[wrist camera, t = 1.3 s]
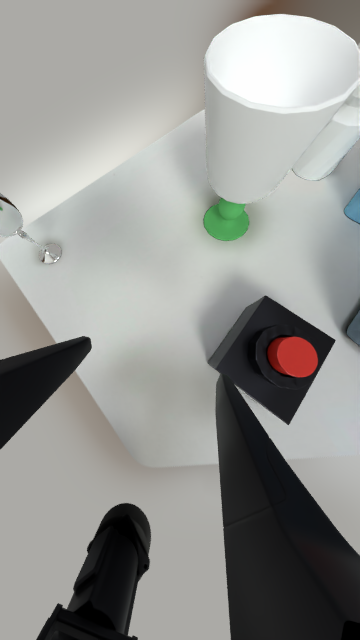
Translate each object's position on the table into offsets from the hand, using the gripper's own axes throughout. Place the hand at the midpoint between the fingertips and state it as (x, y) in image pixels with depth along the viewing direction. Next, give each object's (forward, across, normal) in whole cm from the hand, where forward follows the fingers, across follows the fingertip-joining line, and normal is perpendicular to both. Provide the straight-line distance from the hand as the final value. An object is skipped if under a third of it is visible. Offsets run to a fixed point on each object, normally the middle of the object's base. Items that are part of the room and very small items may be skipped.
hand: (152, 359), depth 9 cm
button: (+7, -13, +2) cm, 15 cm away
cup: (+28, -4, -13) cm, 31 cm away
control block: (+13, -13, +6) cm, 20 cm away
